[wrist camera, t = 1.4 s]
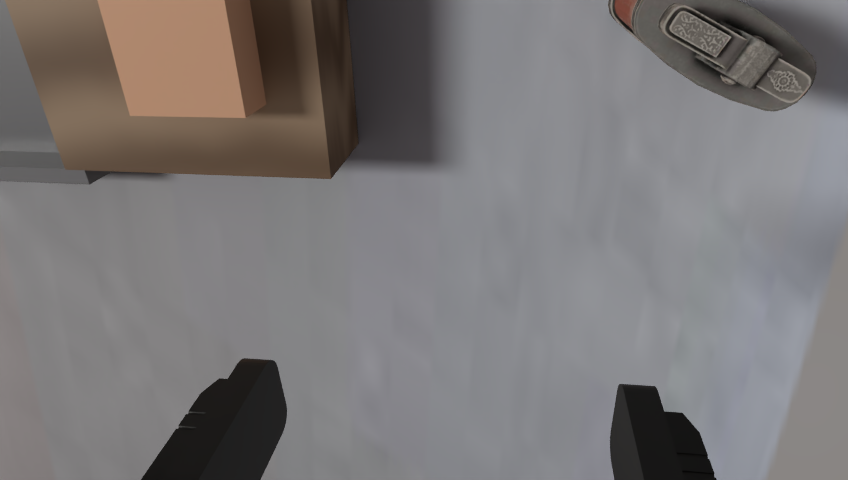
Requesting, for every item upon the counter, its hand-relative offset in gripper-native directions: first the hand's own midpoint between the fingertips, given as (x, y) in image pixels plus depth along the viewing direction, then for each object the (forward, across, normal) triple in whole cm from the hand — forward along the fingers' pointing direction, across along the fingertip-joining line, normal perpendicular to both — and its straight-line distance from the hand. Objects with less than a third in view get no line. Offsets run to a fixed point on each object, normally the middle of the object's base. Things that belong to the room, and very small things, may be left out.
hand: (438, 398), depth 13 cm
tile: (+17, +14, -6) cm, 23 cm away
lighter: (+24, -10, -5) cm, 26 cm away
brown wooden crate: (+23, +16, -6) cm, 29 cm away
